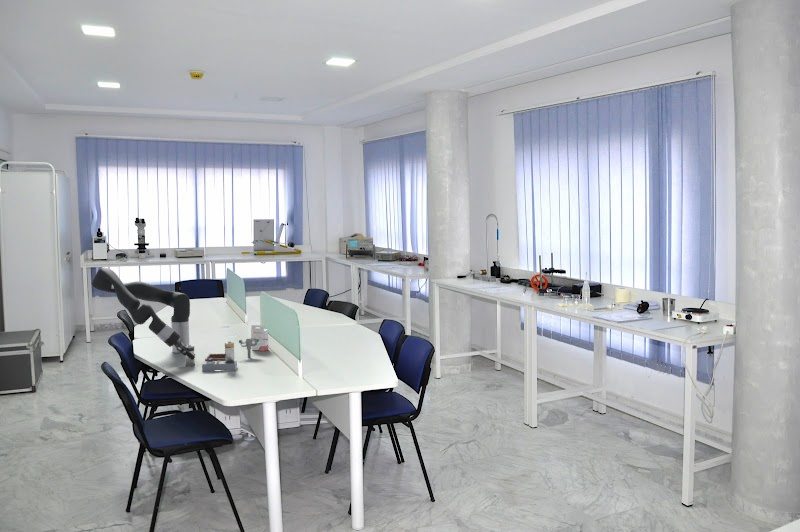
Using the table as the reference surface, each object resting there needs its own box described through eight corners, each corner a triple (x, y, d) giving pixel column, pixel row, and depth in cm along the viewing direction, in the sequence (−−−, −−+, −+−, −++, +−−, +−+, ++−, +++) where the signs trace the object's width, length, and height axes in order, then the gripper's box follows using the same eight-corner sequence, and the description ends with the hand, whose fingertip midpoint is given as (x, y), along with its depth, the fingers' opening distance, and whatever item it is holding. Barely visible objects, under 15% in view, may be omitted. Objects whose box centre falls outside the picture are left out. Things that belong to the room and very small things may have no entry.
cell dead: (186, 364, 331) (186, 344, 330) (195, 364, 331) (195, 344, 330) (184, 366, 326) (184, 346, 325) (193, 366, 327) (193, 346, 326)
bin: (209, 360, 339) (209, 354, 339) (231, 359, 340) (231, 353, 340) (205, 365, 328) (204, 359, 328) (227, 365, 329) (227, 358, 329)
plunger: (207, 368, 322) (207, 358, 322) (215, 368, 323) (214, 357, 322) (206, 370, 318) (205, 359, 318) (213, 370, 319) (213, 359, 318)
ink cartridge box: (268, 349, 365) (268, 324, 364) (265, 351, 360) (264, 325, 359) (255, 348, 367) (254, 323, 366) (251, 350, 362) (250, 325, 361)
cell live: (225, 361, 323) (225, 340, 322) (235, 361, 324) (234, 340, 323) (224, 363, 319) (224, 342, 318) (233, 363, 319) (233, 342, 318)
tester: (204, 368, 323) (204, 360, 323) (236, 367, 325) (236, 359, 325) (202, 371, 317) (202, 363, 317) (235, 370, 319) (235, 362, 319)
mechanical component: (239, 357, 346) (238, 339, 345) (258, 355, 350) (258, 337, 349) (239, 358, 343) (239, 340, 342) (259, 357, 347) (258, 339, 346)
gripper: (164, 338, 331) (189, 359, 335) (161, 344, 317) (188, 366, 321) (174, 327, 332) (199, 349, 336) (172, 332, 318) (198, 355, 322)
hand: (193, 357), depth 329 cm, fingers closed on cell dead, 4 cm apart
